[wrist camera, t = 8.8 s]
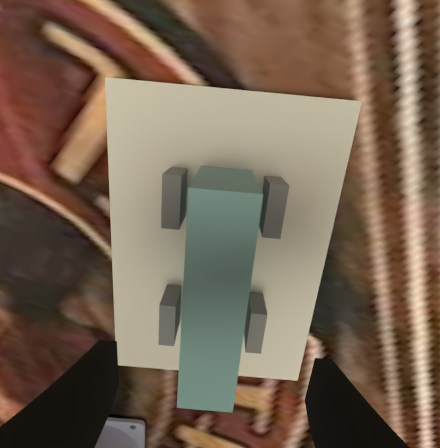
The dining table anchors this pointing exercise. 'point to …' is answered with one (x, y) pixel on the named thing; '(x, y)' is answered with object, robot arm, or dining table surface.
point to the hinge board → (178, 199)
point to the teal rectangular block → (216, 284)
